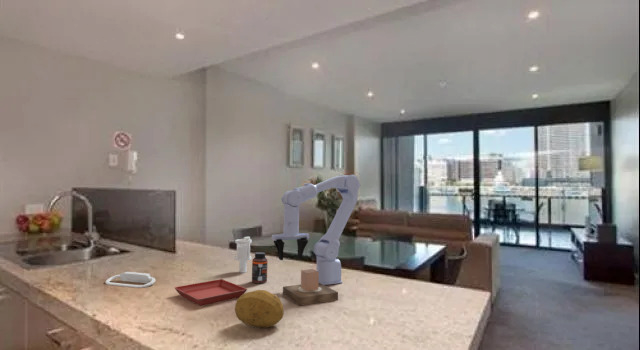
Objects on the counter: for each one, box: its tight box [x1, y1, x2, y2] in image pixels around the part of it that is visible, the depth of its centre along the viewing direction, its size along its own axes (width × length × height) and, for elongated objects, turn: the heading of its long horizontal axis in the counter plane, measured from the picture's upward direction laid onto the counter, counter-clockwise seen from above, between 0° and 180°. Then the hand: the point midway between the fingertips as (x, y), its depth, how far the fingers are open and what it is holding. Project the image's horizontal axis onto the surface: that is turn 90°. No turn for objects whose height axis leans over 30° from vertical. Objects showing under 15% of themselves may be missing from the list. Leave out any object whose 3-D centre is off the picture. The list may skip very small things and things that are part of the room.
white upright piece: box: [234, 236, 253, 274], centre depth 160 cm, size 7×7×15 cm
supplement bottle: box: [251, 251, 268, 284], centre depth 144 cm, size 6×6×11 cm
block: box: [300, 268, 319, 291], centre depth 126 cm, size 4×4×6 cm
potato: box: [234, 289, 285, 329], centre depth 99 cm, size 10×13×9 cm
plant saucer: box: [174, 278, 248, 307], centre depth 124 cm, size 18×18×3 cm
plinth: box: [282, 282, 339, 306], centre depth 125 cm, size 14×14×3 cm
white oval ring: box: [104, 271, 156, 289], centre depth 139 cm, size 20×8×4 cm, turn 75°
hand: (290, 259), depth 137 cm, fingers open, 7 cm apart
